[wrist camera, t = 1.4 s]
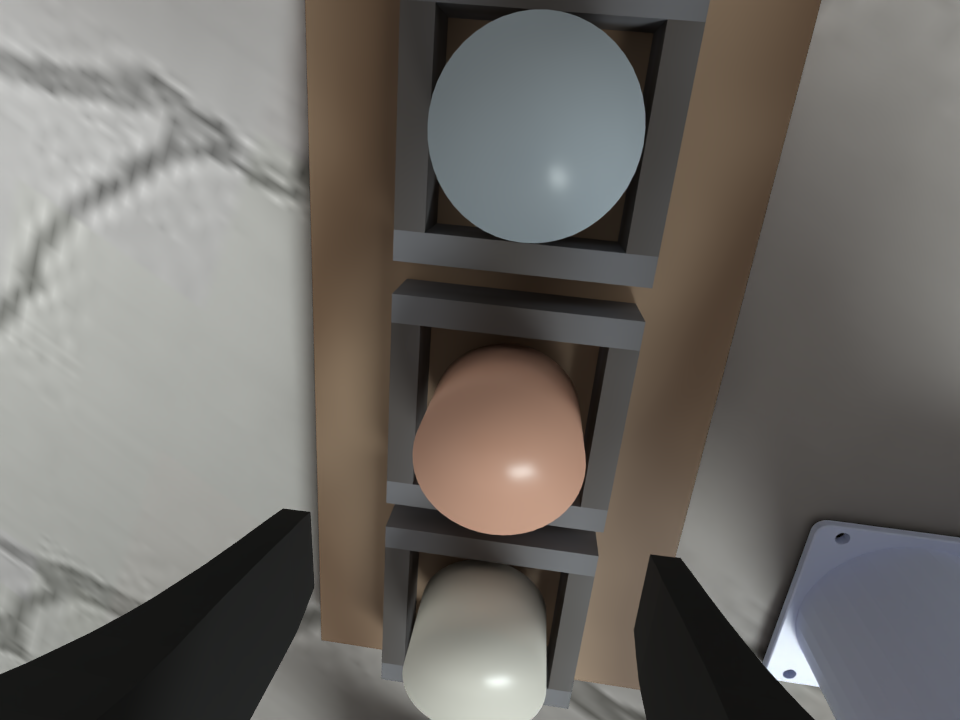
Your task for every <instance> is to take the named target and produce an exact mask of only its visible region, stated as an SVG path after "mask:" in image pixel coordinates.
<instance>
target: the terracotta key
mask: <svg viewBox="0 0 960 720" xmlns="http://www.w3.org/2000/svg"><path fill="white" fill-rule="evenodd" d="M412 453H413V467H414V472H415V475H416V478H417V481H418V483H419V485H420V487H421V490H422V491H423V493H424V494H425V496H426V497H427V499H428V500H429V501H430V502H431V504H432V505H433V506H434V507H435V508H436V509H437V510H438V511H439V512H441V513H442V514H443V515H444V516H446V517H447V518H449V519H450V520H452V521H453V522H455V523H457V524H459V525H461V526H463V527H465V528H468V529H471V530H474V531H477V532H481V533H486V534H492V535H515V534H522V533H526V532H530V531H534V530H536V529H539V528H541V527H544V526H545V525H547V524H549V523H551V522H553V521H554V520H555V519H557V518H558V517H560V516H561V515H562V514H563V513H564V512H565V511H566V510H567V509H568V508H569V507H570V506H571V504H572V503H573V502H574V500H575V499H576V497H577V495H578V494H579V492H580V489H581V487H582V484H583V480H584V477H585V469H586V458H585V448H584V440H583V432H582V424H581V415H580V407H579V401H578V396H577V393H576V390H575V387H574V385H573V383H572V382H571V380H570V378H569V377H568V375H567V374H566V372H565V371H564V370H563V369H562V368H561V367H560V366H559V365H558V364H557V363H556V362H555V361H553V360H552V359H551V358H550V357H548V356H546V355H545V354H543V353H541V352H539V351H537V350H535V349H532V348H529V347H526V346H523V345H517V344H507V343H500V344H491V345H485V346H482V347H479V348H476V349H473V350H471V351H469V352H467V353H465V354H464V355H462V356H461V357H459V358H458V359H457V360H455V361H454V362H453V363H452V364H451V365H450V366H449V367H448V369H447V370H446V371H445V372H444V374H443V376H442V377H441V379H440V381H439V383H438V385H437V388H436V390H435V392H434V394H433V397H432V399H431V401H430V403H429V406H428V408H427V410H426V413H425V415H424V417H423V419H422V422H421V424H420V426H419V428H418V431H417V433H416V436H415V440H414V444H413V452H412Z"/></svg>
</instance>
